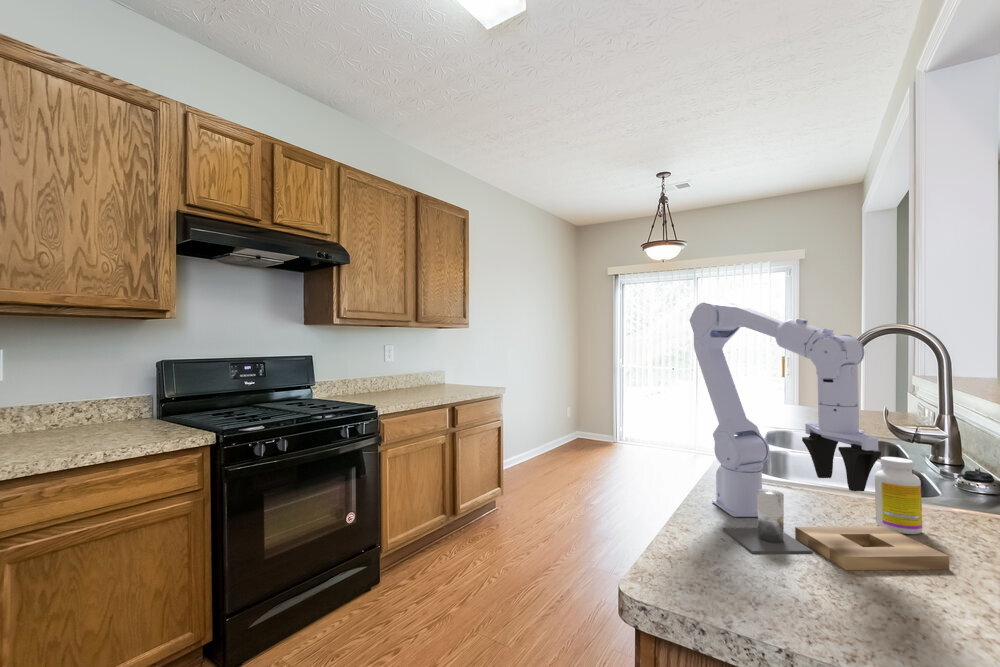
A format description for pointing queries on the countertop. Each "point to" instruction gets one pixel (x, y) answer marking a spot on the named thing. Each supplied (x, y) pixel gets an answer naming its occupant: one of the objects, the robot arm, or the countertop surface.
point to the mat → (756, 545)
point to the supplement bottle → (898, 496)
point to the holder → (871, 548)
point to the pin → (770, 515)
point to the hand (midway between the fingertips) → (839, 483)
